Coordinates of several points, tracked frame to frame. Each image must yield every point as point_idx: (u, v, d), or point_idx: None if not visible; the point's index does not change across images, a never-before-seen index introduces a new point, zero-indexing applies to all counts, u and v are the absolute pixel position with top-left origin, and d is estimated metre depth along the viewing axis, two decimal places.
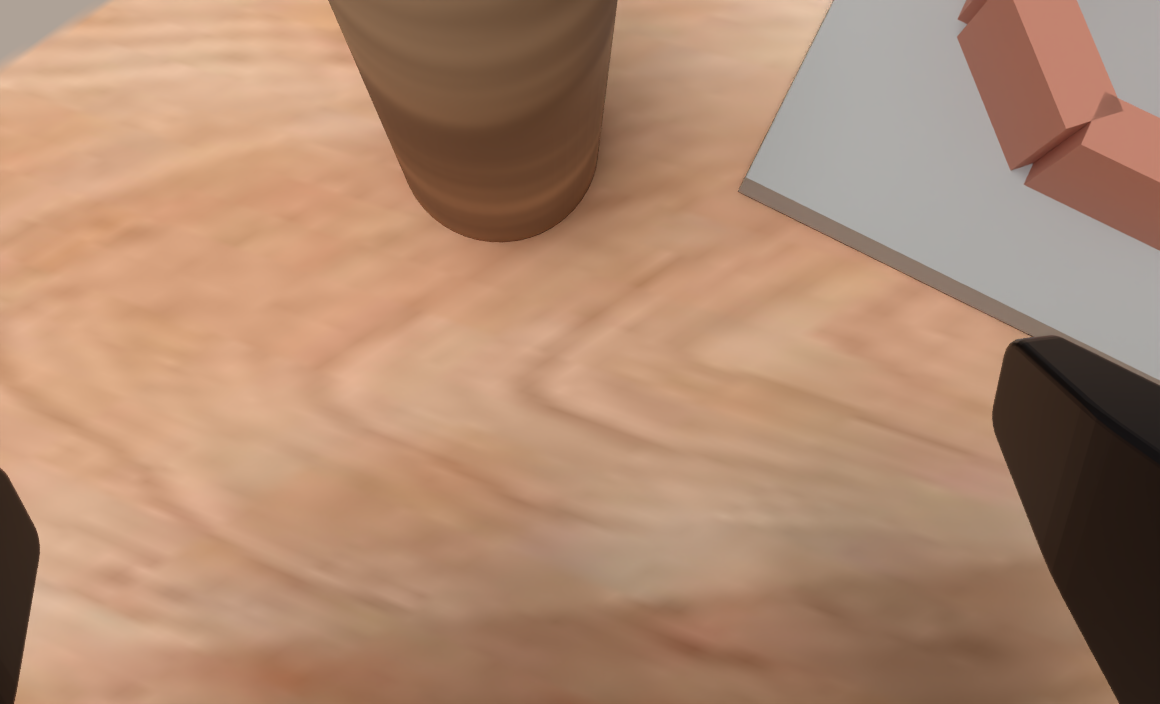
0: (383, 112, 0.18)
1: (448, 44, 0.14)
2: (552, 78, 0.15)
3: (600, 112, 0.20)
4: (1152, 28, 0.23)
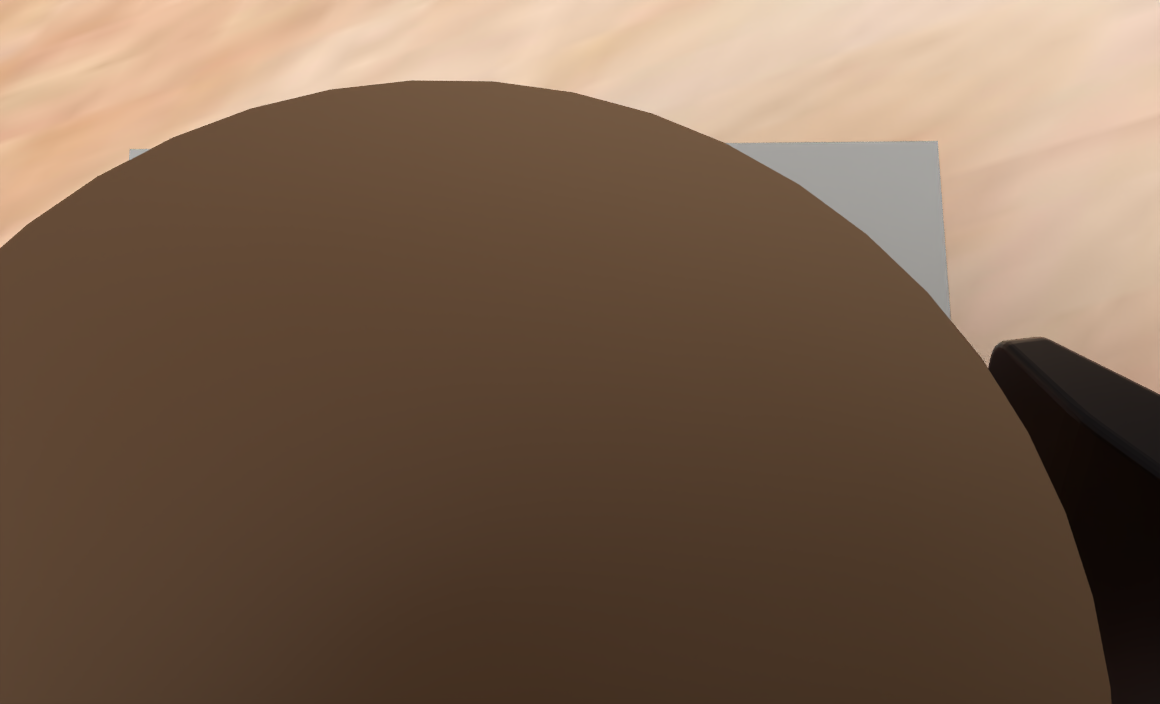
0: None
1: None
2: None
3: None
4: None
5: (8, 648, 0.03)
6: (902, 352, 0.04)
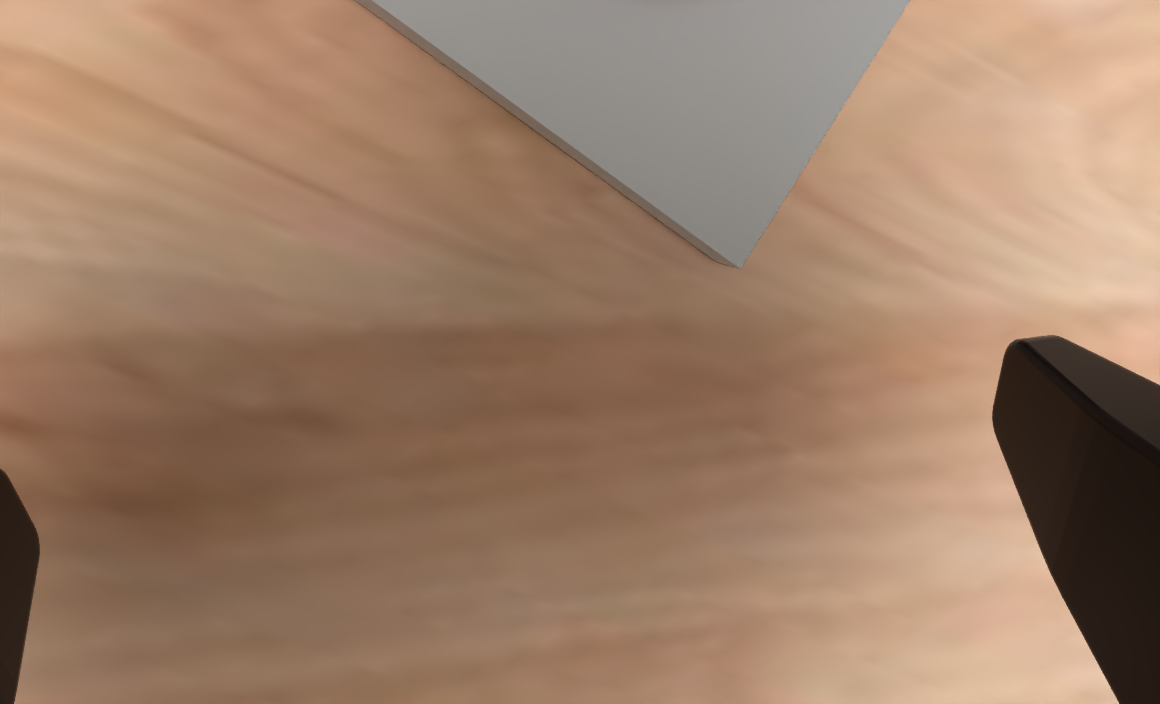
0: None
1: None
2: None
3: None
4: None
5: None
6: None
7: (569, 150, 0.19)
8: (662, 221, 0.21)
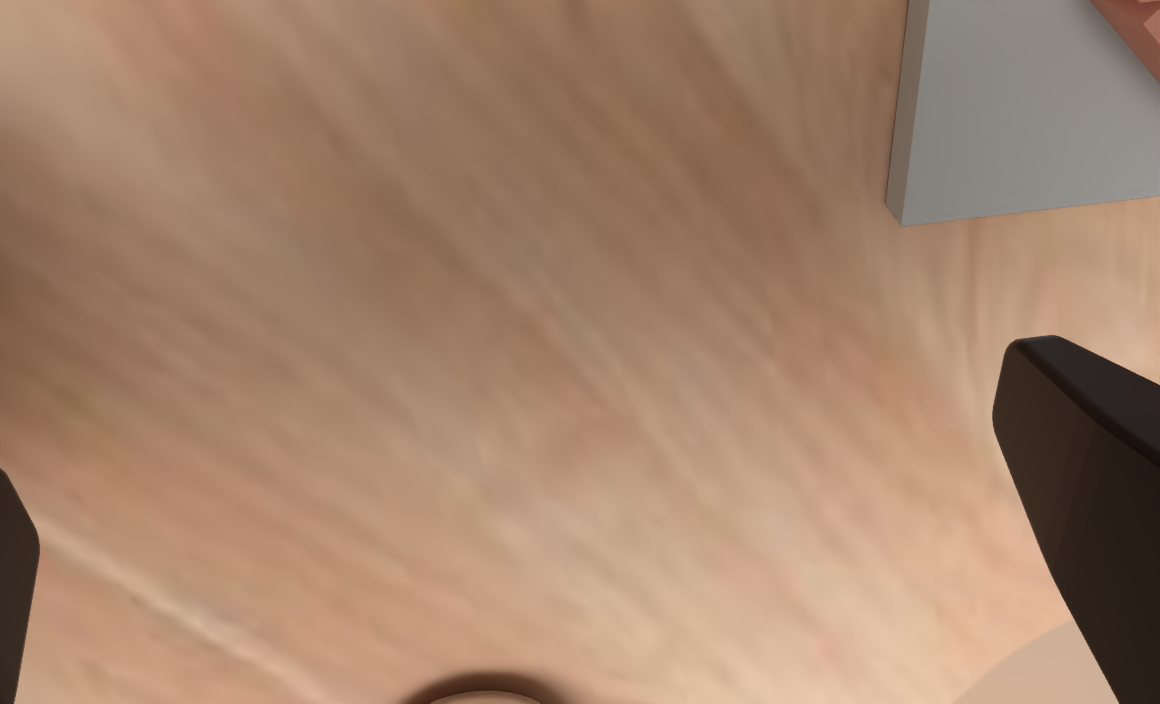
0: None
1: None
2: None
3: None
4: None
5: None
6: None
7: (913, 37, 0.21)
8: (894, 144, 0.23)
